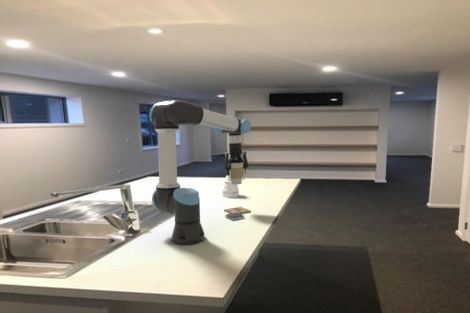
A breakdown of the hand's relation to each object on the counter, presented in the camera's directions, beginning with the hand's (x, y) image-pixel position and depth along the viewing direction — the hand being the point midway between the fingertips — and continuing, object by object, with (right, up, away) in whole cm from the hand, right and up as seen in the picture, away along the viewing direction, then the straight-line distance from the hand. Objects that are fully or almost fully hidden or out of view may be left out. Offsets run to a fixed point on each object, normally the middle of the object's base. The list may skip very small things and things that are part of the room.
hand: (236, 180), depth 193 cm
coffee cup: (0, -2, 0) cm, 3 cm away
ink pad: (-1, -21, -12) cm, 24 cm away
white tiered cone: (-4, -16, +47) cm, 50 cm away
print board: (+1, -19, +2) cm, 19 cm away
